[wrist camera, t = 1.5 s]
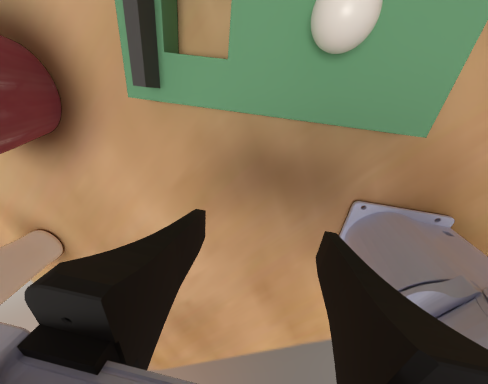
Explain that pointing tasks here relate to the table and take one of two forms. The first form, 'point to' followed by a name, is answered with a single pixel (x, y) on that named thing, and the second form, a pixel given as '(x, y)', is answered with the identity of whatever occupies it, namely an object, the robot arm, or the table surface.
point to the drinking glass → (26, 260)
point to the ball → (343, 23)
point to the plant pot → (25, 97)
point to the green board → (307, 62)
